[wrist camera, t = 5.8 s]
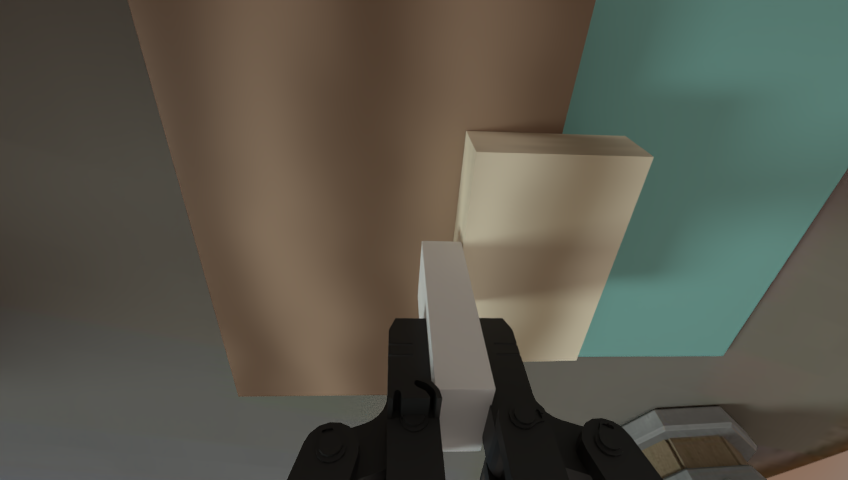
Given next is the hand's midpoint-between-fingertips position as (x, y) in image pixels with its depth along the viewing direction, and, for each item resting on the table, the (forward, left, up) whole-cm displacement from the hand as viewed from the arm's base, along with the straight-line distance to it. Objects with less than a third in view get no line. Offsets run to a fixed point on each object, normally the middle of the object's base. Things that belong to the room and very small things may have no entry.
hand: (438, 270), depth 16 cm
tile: (+4, 0, -2) cm, 4 cm away
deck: (-3, 0, -6) cm, 6 cm away
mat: (+13, 0, -6) cm, 14 cm away
